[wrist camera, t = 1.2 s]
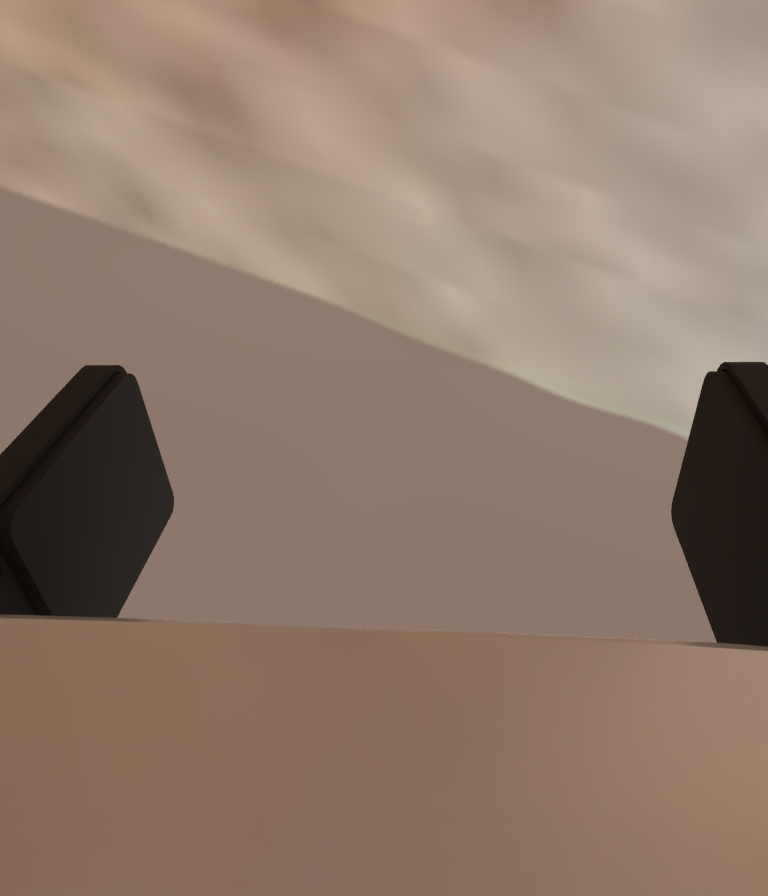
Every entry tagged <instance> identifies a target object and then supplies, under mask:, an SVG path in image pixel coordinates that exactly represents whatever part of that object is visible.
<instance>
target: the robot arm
mask: <svg viewBox="0 0 768 896" xmlns="http://www.w3.org/2000/svg"><path fill="white" fill-rule="evenodd" d="M173 507H174V496H173V492H172V489H171V486H170V482H169V479H168V476H167V473H166V470H165V467H164V464H163V461H162V458H161V454H160V451H159V448H158V445H157V442H156V439H155V435H154V432H153V429H152V426H151V423H150V420H149V417H148V414H147V410H146V407H145V404H144V401H143V398H142V395H141V391H140V389H139V385H138V382H137V380H136V378H135V377H134V375H132V374H127V373H126V371H125V370H124V368H123V367H121V366H119V365H93V366H92V365H89V366H84V367H83V368H82V369H81V370H80V371H79V372H78V373H77V374H76V375H75V376H74V377H73V378H72V379H71V380H70V381H69V382H68V383H67V384H66V385H65V387H64V388H63V389H62V390H61V391H60V392H59V393H58V394H57V395H56V396H55V397H54V399H52V400H51V401H50V402H49V404H48V405H47V406H46V407H45V408H44V409H43V410H42V411H41V412H40V413H39V414H38V415H37V416H36V417H35V418H34V420H33V421H32V422H31V423H30V424H29V425H28V426H27V427H26V428H25V429H24V430H23V431H22V432H21V433H20V435H18V437H17V438H16V439H15V440H14V441H13V442H12V443H11V444H10V445H9V446H8V447H7V448H6V449H5V450H4V451H3V452H2V453H1V455H0V896H768V365H767V364H766V363H764V362H724V363H722V364H721V365H720V366H719V368H718V370H717V372H708V373H707V375H706V376H705V379H704V382H703V385H702V389H701V393H700V397H699V401H698V405H697V409H696V412H695V416H694V420H693V424H692V428H691V432H690V436H689V440H688V443H687V447H686V452H685V455H684V459H683V463H682V467H681V471H680V475H679V478H678V482H677V486H676V490H675V494H674V498H673V502H672V510H671V514H672V522H673V526H674V529H675V531H676V534H677V537H678V539H679V542H680V545H681V547H682V550H683V553H684V555H685V558H686V561H687V563H688V566H689V569H690V572H691V574H692V577H693V579H694V582H695V585H696V588H697V590H698V593H699V596H700V598H701V601H702V603H703V606H704V609H705V612H706V614H707V617H708V620H709V622H710V625H711V628H712V630H713V633H714V636H715V638H716V641H717V643H710V642H687V641H686V642H685V641H668V640H667V641H666V640H648V639H628V638H606V637H583V636H561V635H540V634H518V633H496V632H495V633H494V632H473V631H450V630H427V629H426V630H425V629H424V630H423V629H400V628H377V627H353V626H326V625H302V624H275V623H250V622H249V623H248V622H221V621H189V620H161V619H133V618H132V619H131V618H117V617H118V615H119V613H120V611H121V609H122V607H123V605H124V603H125V602H126V599H127V598H128V596H129V594H130V592H131V590H132V588H133V586H134V584H135V582H136V581H137V579H138V577H139V575H140V573H141V571H142V569H143V567H144V566H145V564H146V562H147V560H148V558H149V556H150V554H151V552H152V550H153V548H154V547H155V545H156V543H157V541H158V539H159V537H160V535H161V533H162V532H163V530H164V528H165V526H166V524H167V522H168V520H169V518H170V516H171V514H172V512H173Z"/></svg>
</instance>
